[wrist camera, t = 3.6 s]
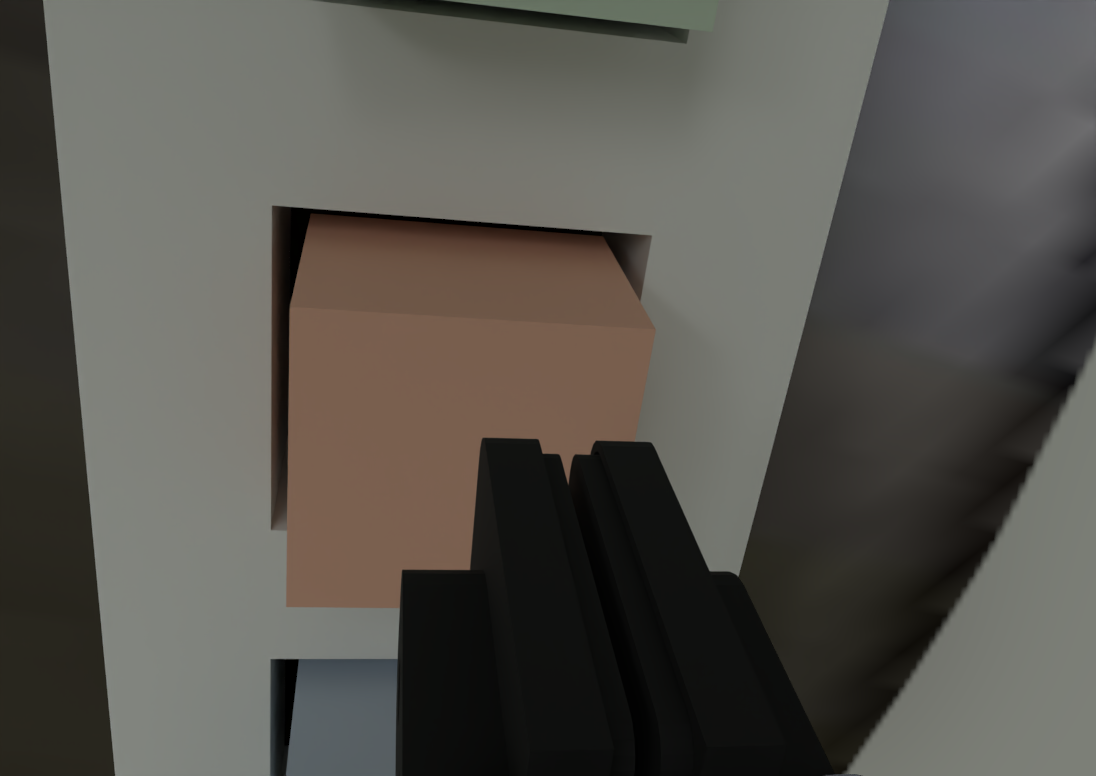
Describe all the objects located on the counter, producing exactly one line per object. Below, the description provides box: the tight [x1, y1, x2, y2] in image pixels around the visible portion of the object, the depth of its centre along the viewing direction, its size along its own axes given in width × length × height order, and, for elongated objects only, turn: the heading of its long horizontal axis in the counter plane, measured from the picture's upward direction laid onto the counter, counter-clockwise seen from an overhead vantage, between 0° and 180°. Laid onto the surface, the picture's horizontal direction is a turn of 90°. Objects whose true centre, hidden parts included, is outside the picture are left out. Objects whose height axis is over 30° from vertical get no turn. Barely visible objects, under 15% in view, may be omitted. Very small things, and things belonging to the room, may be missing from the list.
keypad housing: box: [43, 0, 889, 776], centre depth 19 cm, size 30×12×4 cm, turn 173°
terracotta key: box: [286, 213, 656, 608], centre depth 17 cm, size 5×5×4 cm
